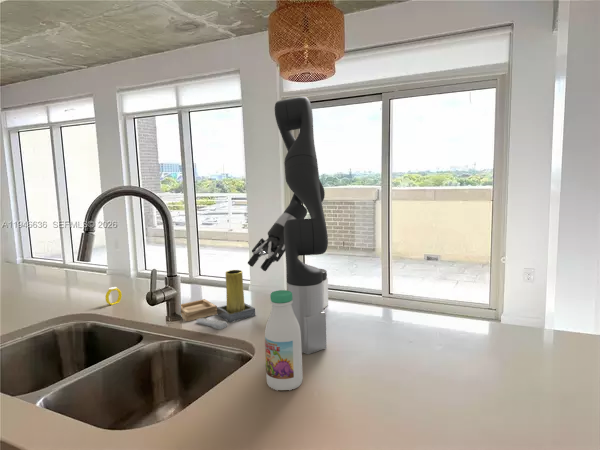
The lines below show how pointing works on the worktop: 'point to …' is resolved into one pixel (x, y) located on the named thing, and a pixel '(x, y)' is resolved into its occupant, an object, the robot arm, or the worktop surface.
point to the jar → (325, 288)
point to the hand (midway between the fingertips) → (256, 267)
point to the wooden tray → (197, 309)
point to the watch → (109, 294)
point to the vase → (234, 291)
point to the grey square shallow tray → (235, 313)
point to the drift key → (212, 323)
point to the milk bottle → (283, 344)
